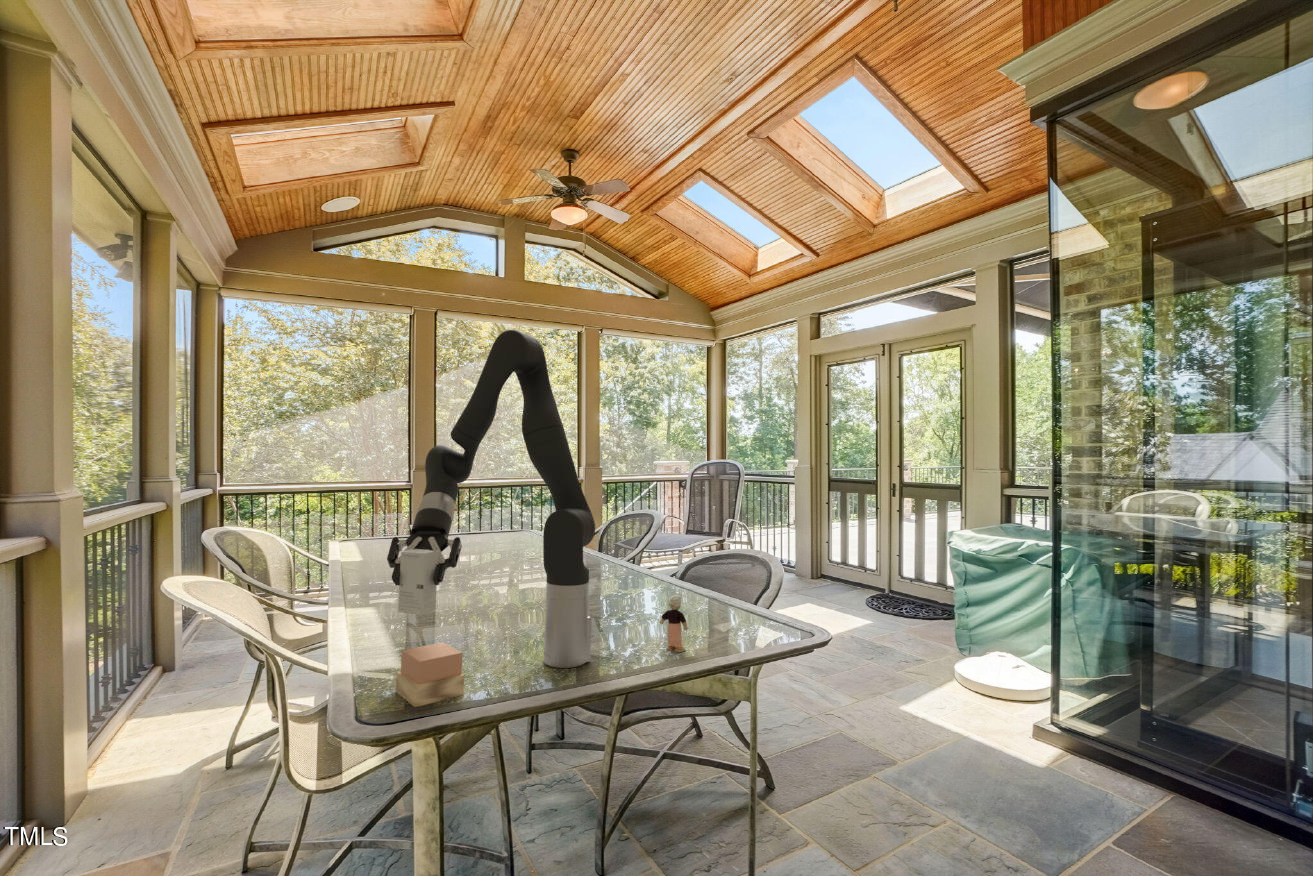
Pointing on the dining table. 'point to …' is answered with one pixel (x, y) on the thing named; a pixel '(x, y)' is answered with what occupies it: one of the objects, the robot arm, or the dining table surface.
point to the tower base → (429, 689)
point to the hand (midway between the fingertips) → (416, 582)
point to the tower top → (431, 662)
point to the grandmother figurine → (674, 624)
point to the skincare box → (417, 581)
